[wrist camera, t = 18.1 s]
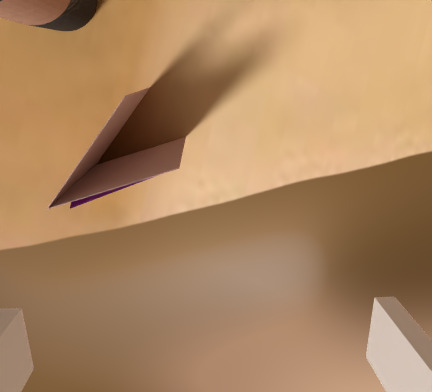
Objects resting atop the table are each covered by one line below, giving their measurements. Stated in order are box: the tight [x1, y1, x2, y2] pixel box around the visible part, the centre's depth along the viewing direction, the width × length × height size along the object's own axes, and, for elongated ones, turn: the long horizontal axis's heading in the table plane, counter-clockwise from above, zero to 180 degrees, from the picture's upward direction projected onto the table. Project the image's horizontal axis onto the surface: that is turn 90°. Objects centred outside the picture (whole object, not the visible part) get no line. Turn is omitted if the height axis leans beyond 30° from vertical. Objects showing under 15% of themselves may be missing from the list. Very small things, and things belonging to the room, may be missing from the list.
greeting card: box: [47, 88, 186, 209], centre depth 37 cm, size 11×7×15 cm, turn 107°
